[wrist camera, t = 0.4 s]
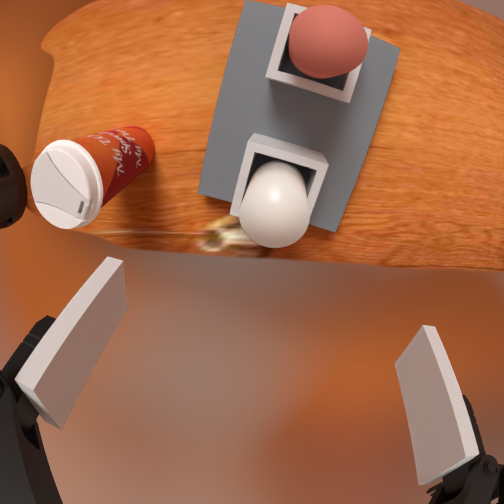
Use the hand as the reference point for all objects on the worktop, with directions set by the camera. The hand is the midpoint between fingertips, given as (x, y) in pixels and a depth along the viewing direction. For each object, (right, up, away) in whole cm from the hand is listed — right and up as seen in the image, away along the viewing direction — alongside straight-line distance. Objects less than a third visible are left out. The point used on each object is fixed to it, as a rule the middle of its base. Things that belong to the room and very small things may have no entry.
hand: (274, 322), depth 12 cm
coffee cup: (-16, +16, +22) cm, 31 cm away
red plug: (+5, +19, +8) cm, 22 cm away
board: (+4, +18, +18) cm, 25 cm away
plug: (+1, +9, +15) cm, 18 cm away
